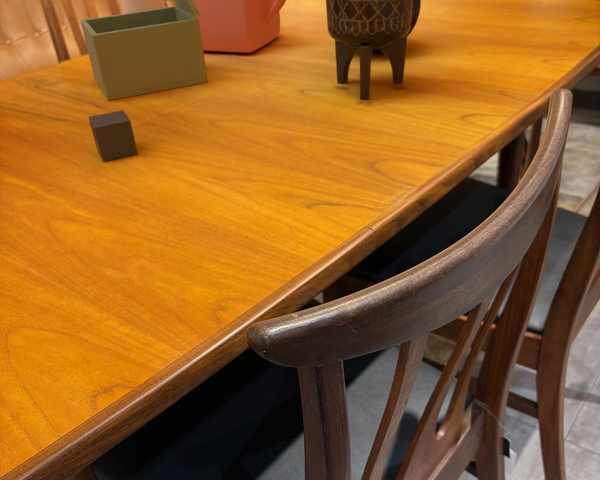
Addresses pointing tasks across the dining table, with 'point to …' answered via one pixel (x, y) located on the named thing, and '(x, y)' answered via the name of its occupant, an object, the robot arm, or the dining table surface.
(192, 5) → the lid
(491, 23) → the dining table surface
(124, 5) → the mug
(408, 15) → the planter
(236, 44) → the teapot
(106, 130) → the block
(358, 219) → the dining table surface
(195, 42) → the chest
